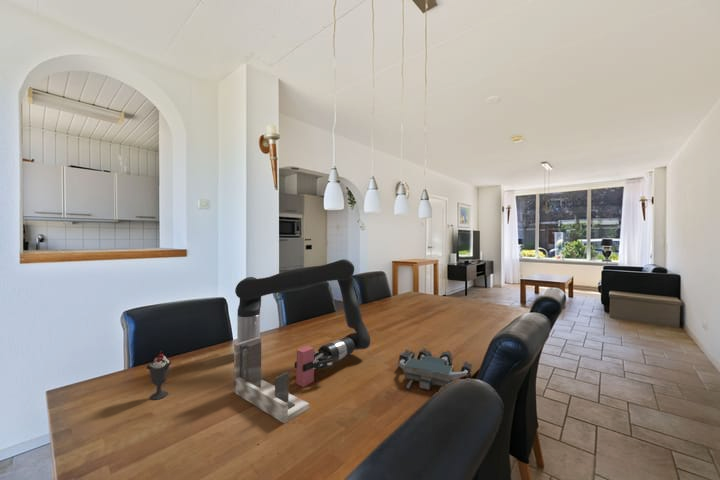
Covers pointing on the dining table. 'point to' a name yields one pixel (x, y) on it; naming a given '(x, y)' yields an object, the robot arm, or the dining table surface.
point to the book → (303, 358)
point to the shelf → (263, 384)
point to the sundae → (159, 375)
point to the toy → (430, 368)
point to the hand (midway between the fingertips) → (299, 367)
